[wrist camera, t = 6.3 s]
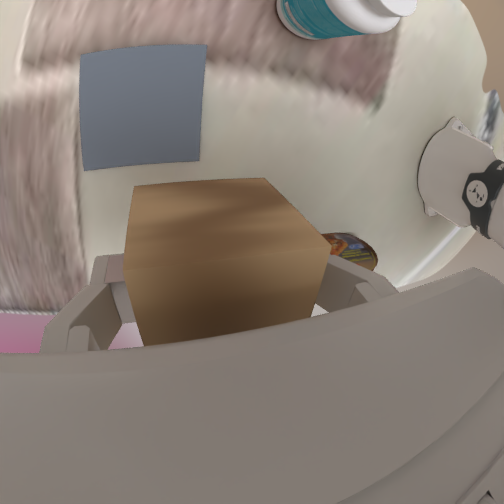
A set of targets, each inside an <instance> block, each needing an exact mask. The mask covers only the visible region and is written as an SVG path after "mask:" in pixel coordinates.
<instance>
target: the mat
mask: <svg viewBox="0 0 504 504" xmlns="http://www.w3.org/2000/svg"><path fill="white" fill-rule="evenodd" d="M206 50H207V45H152V46H138V47H128V48H119V49H112V50H105V51H98V52H93V53H87V54H82V55H81V59H80V84H79V107H80V132H81V146H82V157H83V167H84V171H88V170H96V169H104V168H112V167H121V166H131V165H142V164H155V163H170V162H190V161H199V153H200V130H201V112H202V97H203V83H204V71H205V60H206Z"/></svg>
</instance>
